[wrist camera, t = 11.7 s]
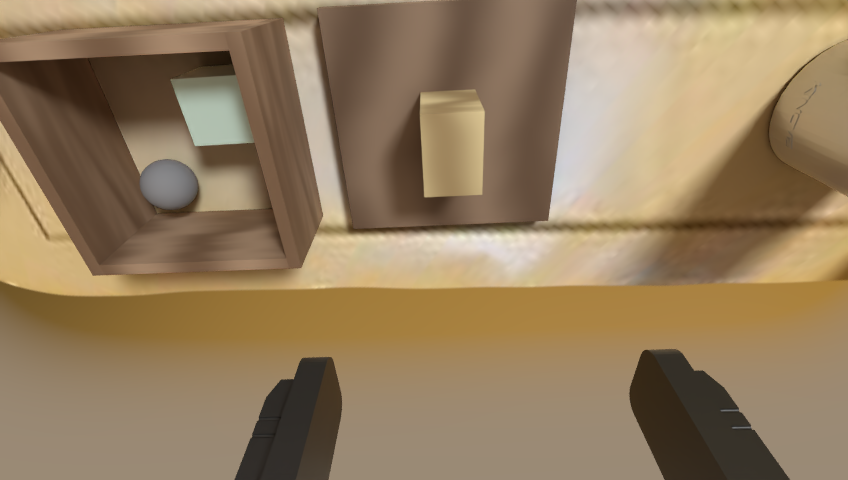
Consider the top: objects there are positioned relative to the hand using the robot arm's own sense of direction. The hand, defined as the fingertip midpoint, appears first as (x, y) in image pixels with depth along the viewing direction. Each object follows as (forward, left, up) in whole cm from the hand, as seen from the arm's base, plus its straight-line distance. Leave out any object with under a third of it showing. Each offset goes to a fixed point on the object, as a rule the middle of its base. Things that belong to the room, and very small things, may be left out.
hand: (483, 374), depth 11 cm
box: (+17, 0, -22) cm, 28 cm away
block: (+14, -3, -22) cm, 26 cm away
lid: (0, 0, -21) cm, 21 cm away
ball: (+20, +3, -20) cm, 28 cm away
